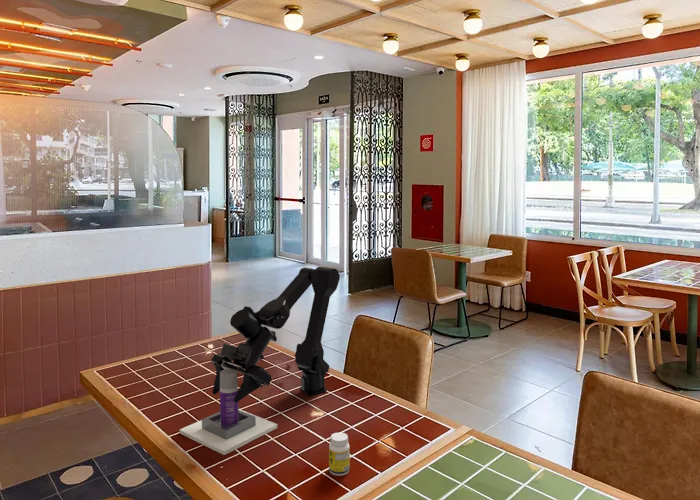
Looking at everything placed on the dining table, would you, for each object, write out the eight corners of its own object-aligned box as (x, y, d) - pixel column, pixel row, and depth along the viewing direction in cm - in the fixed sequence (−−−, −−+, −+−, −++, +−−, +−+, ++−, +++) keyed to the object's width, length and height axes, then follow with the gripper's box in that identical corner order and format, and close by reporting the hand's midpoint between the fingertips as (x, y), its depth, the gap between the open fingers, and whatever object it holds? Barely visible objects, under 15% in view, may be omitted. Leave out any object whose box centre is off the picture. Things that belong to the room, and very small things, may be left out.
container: (227, 432, 139) (226, 376, 137) (216, 426, 142) (215, 372, 141) (242, 426, 143) (241, 371, 141) (231, 421, 146) (230, 367, 144)
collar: (231, 415, 149) (231, 406, 149) (255, 425, 143) (255, 416, 143) (201, 428, 141) (201, 419, 141) (226, 439, 135) (226, 430, 135)
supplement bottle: (328, 465, 126) (328, 431, 125) (348, 464, 126) (348, 430, 125) (329, 476, 121) (329, 441, 120) (350, 476, 121) (350, 441, 120)
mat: (233, 409, 155) (233, 406, 155) (277, 427, 144) (277, 424, 144) (179, 433, 141) (179, 429, 141) (224, 455, 130) (224, 451, 130)
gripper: (215, 325, 147) (182, 375, 140) (262, 337, 136) (229, 393, 129) (238, 345, 155) (208, 394, 148) (284, 359, 144) (254, 412, 136)
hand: (223, 398), depth 140 cm, fingers open, 8 cm apart
